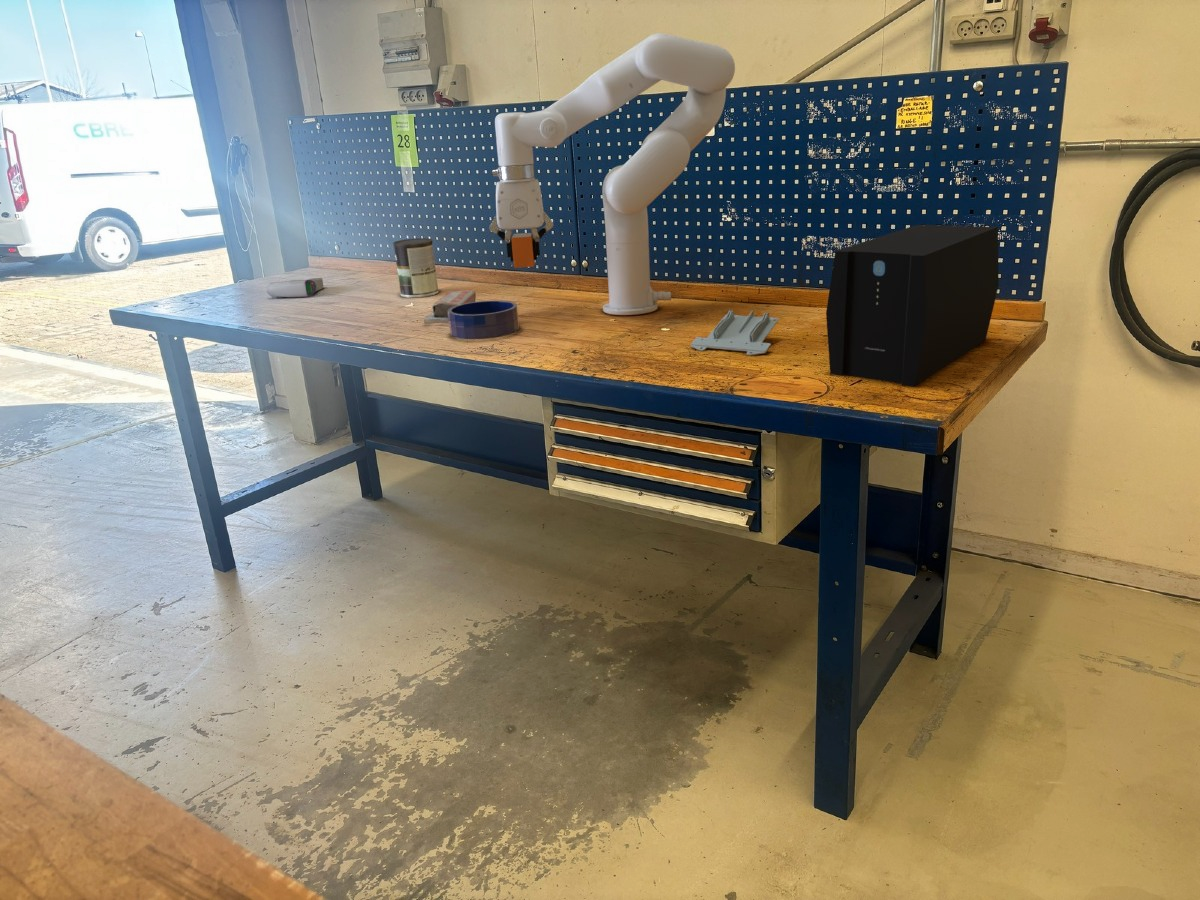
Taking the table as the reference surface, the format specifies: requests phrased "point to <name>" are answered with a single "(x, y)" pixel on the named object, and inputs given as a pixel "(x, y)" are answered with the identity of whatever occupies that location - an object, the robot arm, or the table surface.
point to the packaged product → (449, 305)
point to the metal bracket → (739, 334)
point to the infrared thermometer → (295, 288)
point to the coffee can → (416, 267)
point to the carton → (523, 250)
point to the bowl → (483, 319)
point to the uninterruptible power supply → (911, 301)
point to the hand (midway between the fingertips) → (524, 258)
